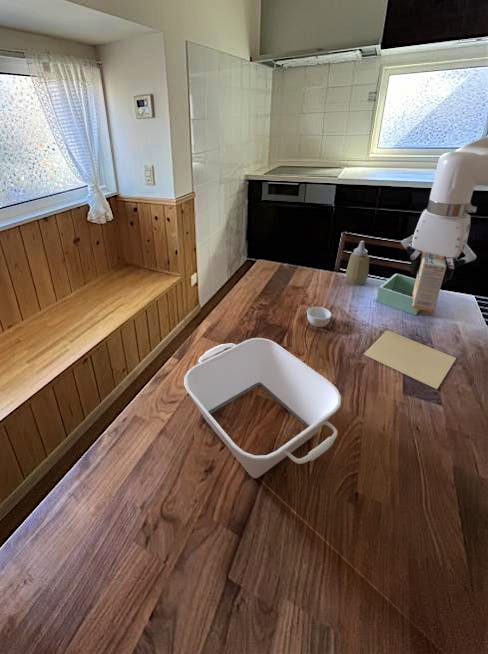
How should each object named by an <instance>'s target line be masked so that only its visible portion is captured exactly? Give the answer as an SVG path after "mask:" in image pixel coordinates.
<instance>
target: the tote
mask: <svg viewBox="0 0 488 654" xmlns="http://www.w3.org/2000/svg"><path fill="white" fill-rule="evenodd" d="M415 281H416V278H414V277H411V276H406V275H404V274H401V273H397V272H396V273H395V274H393V275H392V276H391V277H389V278H388V279H387V280H386V281H385V282H384V283H382V284H381V285H380V286H379V287H378V290H377V296H376V300H375V301H376V302H378V303H381V304H383V305H387V306H389V307H392V308H395V309H398V310H401V311H404V312H406V313H409V314H411V315H414V316H417V315H418V314H419V312H420V311H422V310H421V309H416V308H413V296H411V295H407V294H404V293H401V292H399V291H395V290H393V289H397V290H401V291H403V292H406V293H409V294H410V293H411V294H413V290H414V285H415Z"/></svg>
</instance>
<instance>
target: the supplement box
mask: <svg viewBox="0 0 488 654" xmlns="http://www.w3.org/2000/svg"><path fill="white" fill-rule="evenodd" d="M420 257H421V261H420V265H419V269H418V271H417V272H416V278H415V279H416V281H415V285H414V290H413V293H412V297H413V308H416V309H421V310H420V311H426V312H430V313H434V312H435V310H436V305H437V301H438V298H439V294H440V291H441V286H442V284H443V283H442V281H443V277H444V274H445V270H446V267H447V260H446V257H444V256H440V255H435V254H431V253H427V252H422V253H421V256H420Z"/></svg>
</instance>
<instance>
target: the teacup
mask: <svg viewBox="0 0 488 654" xmlns="http://www.w3.org/2000/svg"><path fill="white" fill-rule="evenodd" d="M306 313H307V314H306V315H307V320H308V322H309V324H311V325H312V326H313V327H316V328H323V327H326V326H327V325H328V324H329V323H330V321H331V318H332V312H331V310H329V309H328V308H326V307H322V306H311V307H308V309H307V310H306Z"/></svg>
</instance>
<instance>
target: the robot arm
mask: <svg viewBox="0 0 488 654" xmlns="http://www.w3.org/2000/svg"><path fill="white" fill-rule="evenodd" d="M476 186H483V187H484V186H486V187H488V136H485V137H481V138H479V139H476V140H475V141H471V142H470V143H467V144H465V145H462V146H461V147H460V148H458V149H456V150H454V151H449V152H445V153H443V154H442V155H440V157H439V158H438V162H437V165H436V169H435V173H434V178H433V182H432V185H431V190H430V194H429V199H428V203H427V207H426V208H425V209H423V211H422V212H421V215H420V217H419V219H418V222H417V224H416V227H415V229H414V233H413V234H411V235H410V236H408V237H406V238H404V239H402V240H401V241H400V244H401V246H402V247H403V248H404V249H405V251H406V252H407V254H408V255H409V257H410V258H409V259H411V261H410V266H409V270H411V271H410V275H415V274H417V273H418V269H419V265H420V261H421V257H422V256H421V255H422V253H423V252H427V253H431V254H435V255H440V256H444V257H445V260H446V270H445V274H444V277H443V281H442V284H445V283H446V282H447V281H451V280H452V278H453V275H454V271H455V268H459V267H461V266H463V265H465V264H468V263H470V262H474V261H475V260H476V259H477V255H476V253H475V252H474V251H473V249H471V247H470V246H469V245H468V244H467V243H468V237H469V236H470V235H469V234H470V229H471V215H470V214H471V213H472V214H473V213H476V212H477V208H478V207H477V206H474V205H472V201H471V200H472V198H473V192H474V190H475V187H476ZM469 213H470V214H469ZM461 254H464V255H465V256H464V257H460V255H461ZM459 257H460V258H459Z"/></svg>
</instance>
